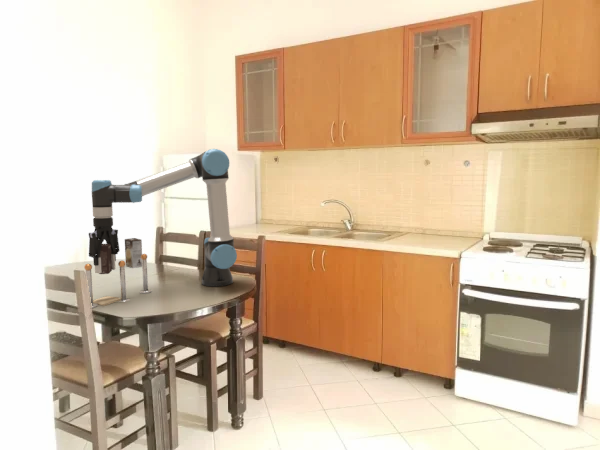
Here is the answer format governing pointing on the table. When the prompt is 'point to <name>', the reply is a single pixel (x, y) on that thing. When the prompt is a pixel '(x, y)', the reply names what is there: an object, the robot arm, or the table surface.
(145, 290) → the gate post
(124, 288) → the corner post
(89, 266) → the end post
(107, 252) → the box
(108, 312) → the table surface
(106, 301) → the pad
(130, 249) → the coffee box
